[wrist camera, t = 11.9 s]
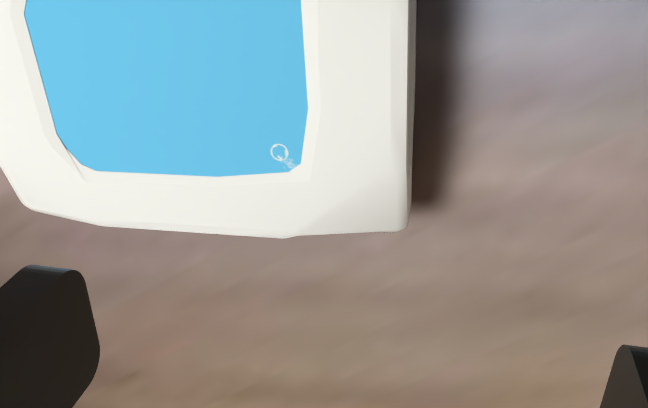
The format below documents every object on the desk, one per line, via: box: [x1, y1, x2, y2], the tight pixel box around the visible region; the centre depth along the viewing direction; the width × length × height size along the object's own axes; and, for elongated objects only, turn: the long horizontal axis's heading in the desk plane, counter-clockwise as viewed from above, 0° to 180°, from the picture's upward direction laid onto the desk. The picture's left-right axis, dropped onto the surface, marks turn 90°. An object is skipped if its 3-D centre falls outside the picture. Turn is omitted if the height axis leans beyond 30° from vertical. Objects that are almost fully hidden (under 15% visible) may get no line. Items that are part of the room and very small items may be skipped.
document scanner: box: [0, 0, 417, 238], centre depth 39 cm, size 21×28×6 cm
